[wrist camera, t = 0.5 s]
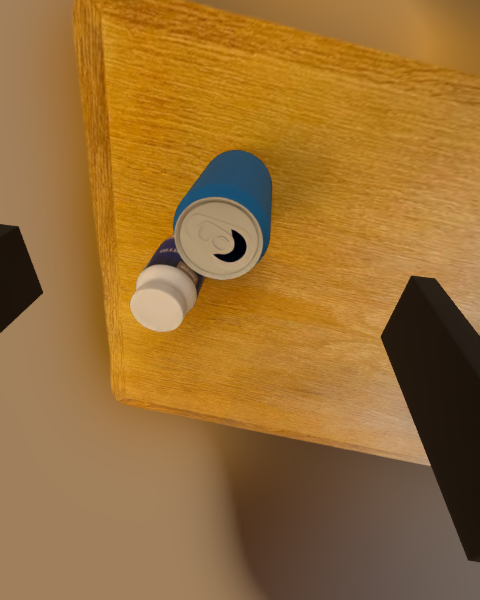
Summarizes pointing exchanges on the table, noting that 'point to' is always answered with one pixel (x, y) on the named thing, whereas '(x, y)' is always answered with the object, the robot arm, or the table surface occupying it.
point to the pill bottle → (165, 290)
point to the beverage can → (226, 217)
